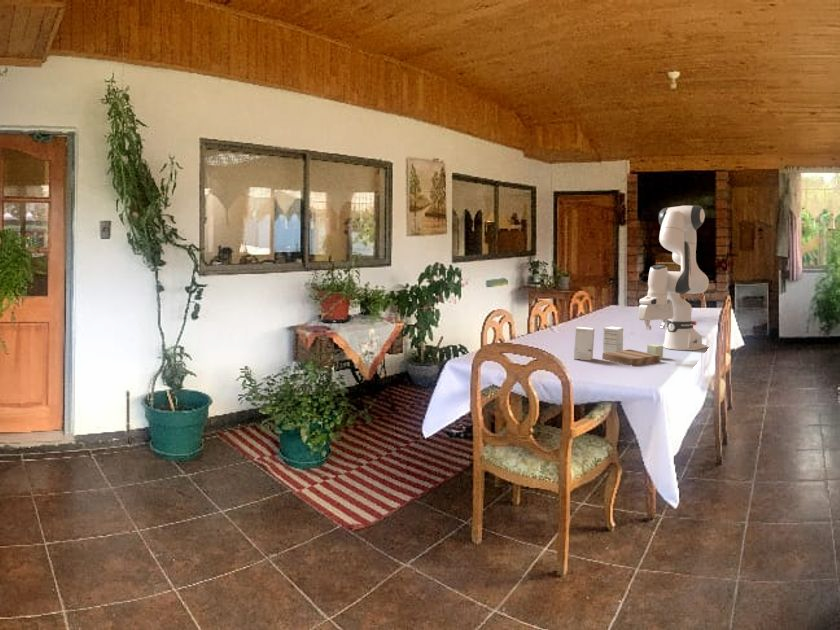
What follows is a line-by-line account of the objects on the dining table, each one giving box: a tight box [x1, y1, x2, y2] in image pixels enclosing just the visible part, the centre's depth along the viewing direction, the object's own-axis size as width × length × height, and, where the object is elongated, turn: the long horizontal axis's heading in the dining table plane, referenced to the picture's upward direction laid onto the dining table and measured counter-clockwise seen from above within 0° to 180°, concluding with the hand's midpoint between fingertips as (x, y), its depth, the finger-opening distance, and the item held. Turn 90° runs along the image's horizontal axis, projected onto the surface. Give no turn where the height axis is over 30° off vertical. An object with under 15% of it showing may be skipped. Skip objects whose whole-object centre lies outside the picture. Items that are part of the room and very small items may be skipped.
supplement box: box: [602, 325, 624, 354], centre depth 346 cm, size 7×7×13 cm
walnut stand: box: [602, 349, 661, 367], centre depth 328 cm, size 18×18×3 cm
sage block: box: [646, 343, 664, 359], centre depth 334 cm, size 5×5×6 cm
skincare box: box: [573, 326, 596, 361], centre depth 331 cm, size 8×6×15 cm
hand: (655, 329), depth 332 cm, fingers open, 8 cm apart
